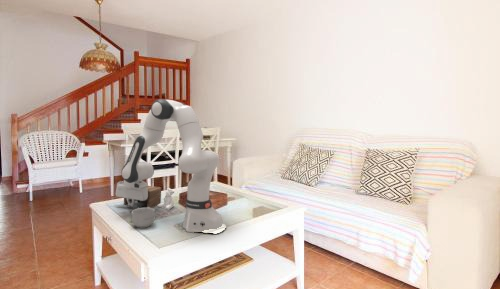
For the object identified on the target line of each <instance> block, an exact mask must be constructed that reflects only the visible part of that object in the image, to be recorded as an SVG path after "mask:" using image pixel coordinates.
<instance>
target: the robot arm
mask: <svg viewBox="0 0 500 289" xmlns="http://www.w3.org/2000/svg"><path fill="white" fill-rule="evenodd" d="M150 106H151V107H150V110H148V114H147V115H146V118H145V120H144V124H143V127H142V130H141V132H140V134H139V135H138V136H137V137H136V138H135V141H133V145H132V146H131V150H130V152H129V155H128V156H127V157H125V159H124V160H125V161H124V166H123V167H122V169H121V178H122V179H123V181H122V180H119V181H118V182H117V183H116V189H115V197H118V198H123V199H124V198H127V199H126V200H127V202H128V204H127V207H128V206H132V207H133V206H134V203H135V201H136V200H140V201H145V200H147V198H148V189H147V186H149V185H148V183H147V182H145V181H144V180H148V179H151V178H152V177H153V175H154V173H155V168H154V166H153V164H152V163H150V162H147V161H145V160H143V159H142V155H143V153H144V152H145V151H146V149H148V148H149V147H151V146H153V145H156V144H157V143H160V142H161V141H162V139H163V137H164V134H165V130H166V125H167V123H168V122H176V126H177V129H178V133H179V137H180V140H181V144H182V151H181V155H180V156H179V158H178V167H179V169H180V170H181V172H182V173H185V174H193V175H192V177H191V179H190V180H189V182H188V183H187V191H186V192H187V193H186V199H185V214H184V219H183V222H182V228H183V229H184V230H185V232H188V233H194V232H202V231H204V230H209V229H217V228H219V227H221V226H222V223H223V216H222V214H221V213H219V212H218V210H216V209H215V208H214V207H213V206H212V205H213V203H214V201H213V200H212V201H211V200H210V190H211V188H210V186H211V182H212V179H213V175H214V173H215V171H216V169H217V167H218V166H219V164H220V156H219V154H218V153H217V152H215V151H213V150H208V149H205V150H204V149H203V150H202V142H203V139H204V134H203V130H202V127H201V125H200V124H201V123H200V121H199V119H198V116H197V114H196V112H195V110H194V109H193V107H192V106H191V105H187V104H185V103H184V102H181V101H178V100H177V101H176V100H172V99H164V98H159V99H155V100H154V101H153V102H152V103H151V105H150ZM131 199H132V203H131V201H130V200H131Z"/></svg>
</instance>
